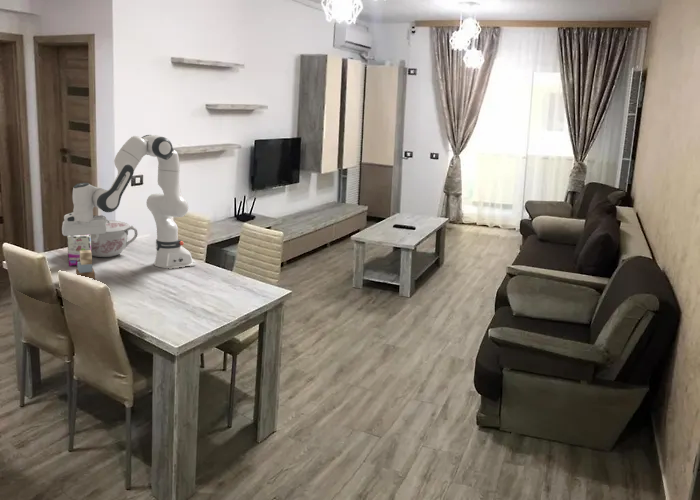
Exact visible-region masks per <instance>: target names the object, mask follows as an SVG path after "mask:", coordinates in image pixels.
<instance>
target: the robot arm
mask: <svg viewBox="0 0 700 500" xmlns="http://www.w3.org/2000/svg"><path fill="white" fill-rule="evenodd" d="M146 155H147V156H150V157H153V158H155V157H156V159H157V161H158V166H157V185H158V186H159V187H160V188H161V190H162V192H163V193H151V194H150V195H149V196H148V197H147V199H146V207H147V209H148V211H150V212H151V214H152V216H153V219H154V222H155V225H156V226H155V228H156V239H155V249H156V254H155V259H154V263H153V264H154V266H155V267H158V268H164V269H168V268H169V269H168V270H173V269H172V268H174V269H180V268H179V267H182V268H186V267H185V266H190V267H195V266H197V262H196V259H193V257H192V253H191V252H190V251H189V250H188V249H186V248H185V247H184V245H185V244H184V241H182V240H180V239H179V236H178V235H179V234H178V232H179V231H178V230H179V227H178V224H177V223H176V222H175V220H174V219H173V218H183V217H184V216H185V217H186V215H187V214H188V211H189V203H188V202H187V200H186V199H185V197H184V195H183V194H182V191H181V188H180V159H179V158H180V157H179V153H178V151H176V150H175V149H174V148H173V144H172V142H171V140H170V139H168V138H166V137H165V136H160V135H157V134H154V135H152V134H146V135H143V136H138V135H133V136H131V137H130V138H129V139H127V140H126V142H125V143H124V144H123V145H122V146H121V148H120V149H119V150H118V152H117V153H116V155H115V157H114V161H113V162H114V166H115V168H116V170H117V175H116V177H115V180H114V181H113V182H112V184H111V186H110V188H109V189H108V190H107V189H104V188H101V187H97V186H94V185H92V184H90V182H80V183H76V184H75V185H74V186H73V188H72V203H73V210H72V212H69V213H67V214H65V215H63V221H62V226H61V233H62V235H63V236H64V237H67V236H70V237H71V239H72V240H73V244H77V243H76V240H74V239H73V237H74V235H90V234H96V238H95V239H94V243H97V239H98V237H99V234H105V233H106V225H105V223H106V219H107V217H106V216H104V215H102V214H101V215H94V208H97V209H99V210H101V211H102V212H104V213H112V212H115V211H117V209H118V208H119V206H120V203H121V199H122V196H123V194H124V192H125V191H126V189H127V187H128V185H129V183H130V181H131V180H132V178H133V175H134V173H135V170H136V168H137V167H138V165H139V163H140V162H141V160H142V159H143V158H144V156H146Z"/></svg>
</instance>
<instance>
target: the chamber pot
mask: <svg viewBox="0 0 700 500" xmlns="http://www.w3.org/2000/svg"><path fill="white" fill-rule="evenodd" d="M105 225H106V233H105V234H99V237H98V239H97V243H94V239H95V238H96V234H90V235H91V252H92V257H96V258H113V257H115V256H116V257H117V256H119V255H120V254H121V253H122V252H123V250H125V249H126V247H128V246H129V245H130V244H132V243H133V242H134V241H135V240H136V239H137V237H138V229H137V228H136V227H135V226H134V225H130V224H129V223H127V222H123V221H119V220H111V219H107V218H106V223H105ZM131 230H132V231H134V235H133V237H132V238H131V239H130V240H128V235H129V231H131Z"/></svg>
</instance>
